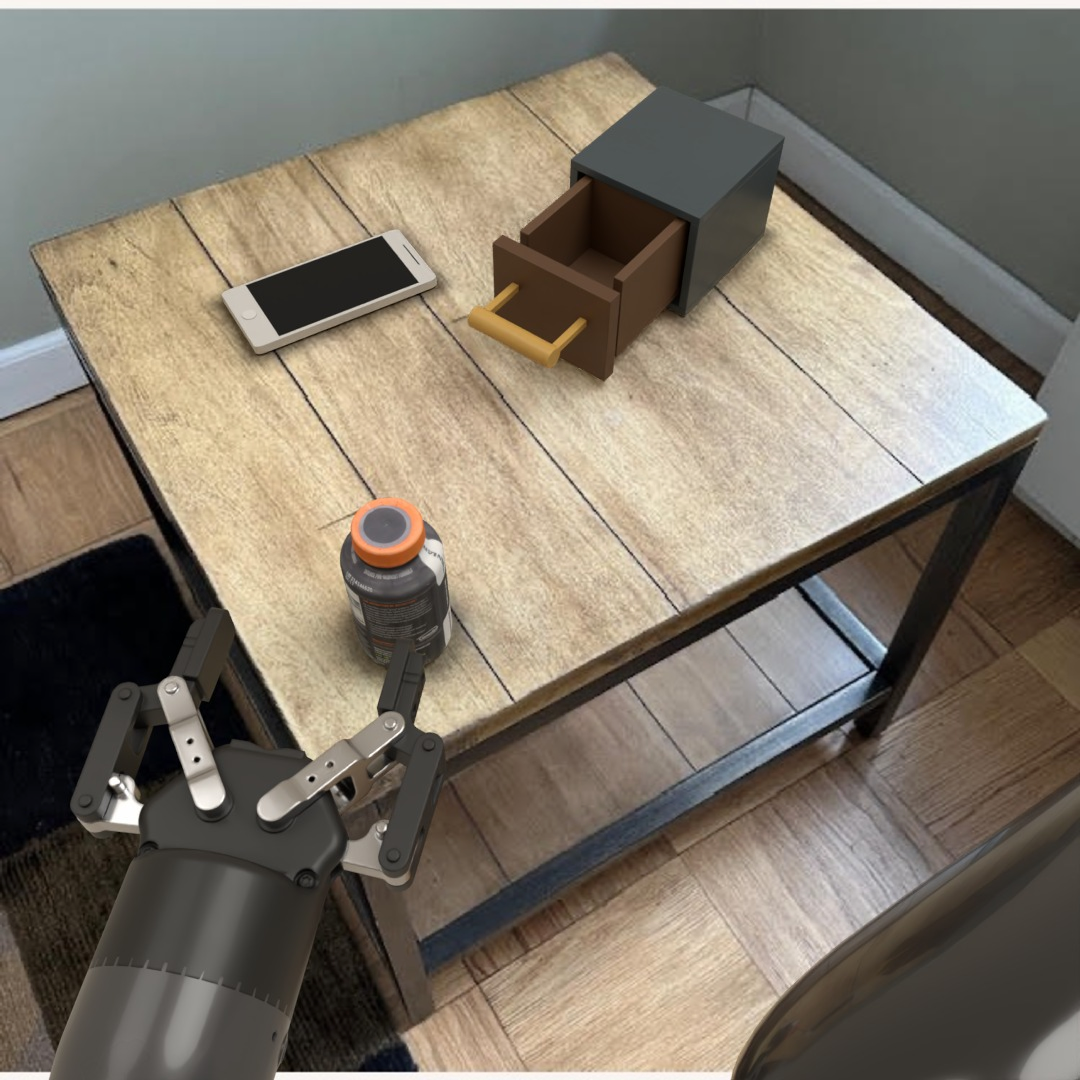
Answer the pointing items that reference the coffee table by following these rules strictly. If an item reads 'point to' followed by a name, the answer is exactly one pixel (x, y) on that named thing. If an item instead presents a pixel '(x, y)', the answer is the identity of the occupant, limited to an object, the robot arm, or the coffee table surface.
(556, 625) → the coffee table surface
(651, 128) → the cabinet
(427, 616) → the pill bottle
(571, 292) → the drawer
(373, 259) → the smartphone
